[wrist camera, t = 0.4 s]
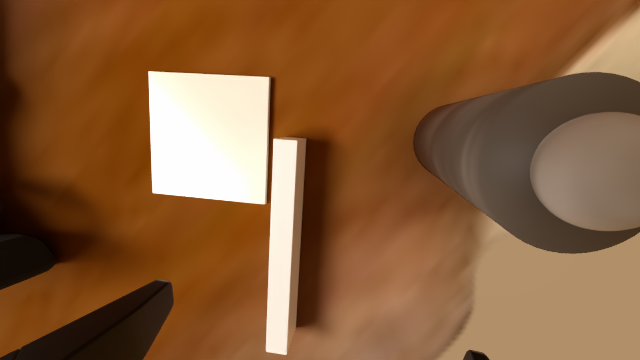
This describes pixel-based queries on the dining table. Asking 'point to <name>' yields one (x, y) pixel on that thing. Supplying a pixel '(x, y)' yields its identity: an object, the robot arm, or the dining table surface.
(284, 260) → the low frosted rail
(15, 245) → the black looped hood device
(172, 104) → the coaster
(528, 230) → the pepper mill
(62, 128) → the dining table surface
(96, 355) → the robot arm
